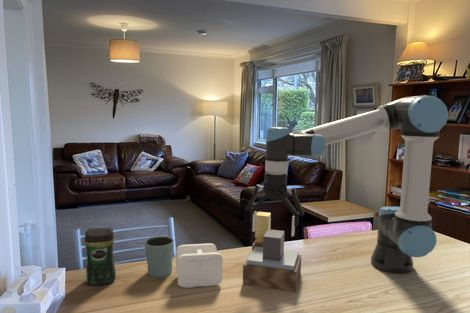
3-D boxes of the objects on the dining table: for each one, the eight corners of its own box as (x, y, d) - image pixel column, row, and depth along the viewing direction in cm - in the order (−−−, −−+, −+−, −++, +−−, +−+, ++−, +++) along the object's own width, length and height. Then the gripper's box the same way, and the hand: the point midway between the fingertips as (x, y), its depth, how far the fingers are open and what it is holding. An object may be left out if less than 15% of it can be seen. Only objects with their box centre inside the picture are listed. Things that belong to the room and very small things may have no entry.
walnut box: (302, 264, 146) (303, 243, 144) (295, 292, 124) (296, 267, 123) (256, 258, 151) (256, 238, 150) (241, 284, 129) (241, 260, 128)
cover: (298, 255, 136) (299, 230, 135) (293, 270, 124) (294, 242, 123) (255, 250, 141) (255, 225, 140) (246, 264, 128) (247, 237, 127)
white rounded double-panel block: (218, 273, 137) (218, 242, 135) (222, 287, 127) (223, 253, 125) (176, 276, 134) (176, 244, 132) (177, 290, 124) (177, 256, 122)
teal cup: (179, 270, 139) (179, 238, 137) (162, 281, 130) (162, 247, 128) (156, 264, 143) (156, 234, 142) (139, 275, 134) (138, 242, 133)
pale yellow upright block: (270, 237, 150) (270, 212, 149) (266, 244, 142) (266, 218, 141) (257, 236, 151) (258, 211, 150) (253, 243, 144) (253, 217, 142)
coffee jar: (116, 274, 134) (115, 224, 132) (114, 284, 127) (113, 231, 124) (87, 276, 132) (85, 225, 130) (84, 287, 124) (82, 233, 122)
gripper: (314, 173, 129) (310, 233, 131) (243, 168, 135) (241, 225, 138) (312, 177, 121) (308, 240, 124) (237, 171, 128) (235, 231, 131)
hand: (273, 232), depth 131 cm, fingers open, 13 cm apart
